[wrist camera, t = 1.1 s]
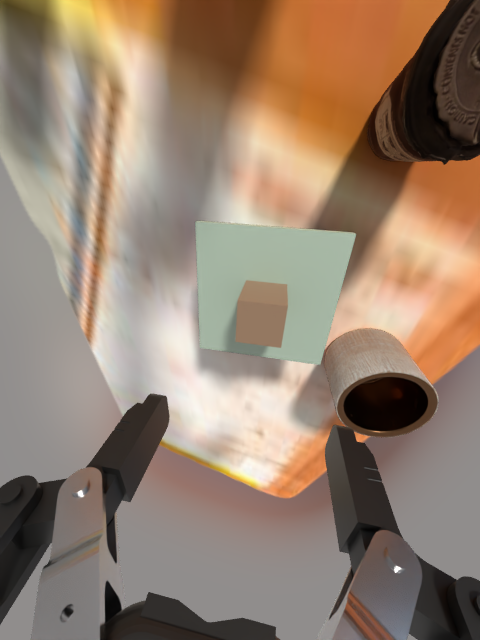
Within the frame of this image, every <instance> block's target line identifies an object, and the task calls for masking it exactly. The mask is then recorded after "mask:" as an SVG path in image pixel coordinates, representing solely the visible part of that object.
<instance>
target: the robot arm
mask: <svg viewBox="0 0 480 640" xmlns="http://www.w3.org/2000/svg"><path fill="white" fill-rule="evenodd" d="M168 423H169V410H168V403H167V397H166V396H163V395H157V394H150V395H148V397H147V398H146V400H145V401H144V403H143V404H141V403H137V404H136V405H134V406H133V407H132V408H130V409H129V410H128V411H127V412H126V414H125V415H124V416H123V418H122V419H121V421H120V423H118V425H117V426H116V427H115V430H114V431H113V432H112V433H111V434H110V436H109V437H108V439H107V440H106V441H105V443H104V444H103V446H102V447H101V448H100V450H99V451H98V453H97V454H96V455H95V457H94V458H93V459H92V461H91V462H90V463H89V465H88V466H87V467H86V468H83V469H80V470H78V471H76V472H75V473H73V474H72V475H71V476H70V477H68V478H67V479H62V480H56V481H49V482H44V483H38V482H37V480H36V479H35V478H34V477H32V476H21V477H18V478H15V479H13V480H11V481H9V482H7V483H6V484H5V485H3V486H2V487H1V488H0V624H1V623H2V621H3V619H4V618H5V616H6V615H7V613H8V611H9V609H10V608H11V606H12V605H13V603H14V602H15V600H16V598H17V597H18V595H19V594H20V592H21V590H22V589H23V587H24V585H25V584H26V582H27V580H28V579H29V577H30V576H31V574H32V572H33V571H34V569H35V567H36V566H37V564H38V563H39V561H40V559H41V558H42V556H43V555H44V553H45V551H46V550H47V548H48V547H49V545H50V543H52V548H51V556H50V560H49V562H48V564H47V565H46V566H44V568H43V570H42V572H41V576H40V579H39V585H38V592H37V599H36V606H35V613H34V620H33V627H32V634H31V640H280V639H279V638H277V637H276V636H275V634H276V627H274V626H270V625H267V624H263V623H260V622H256V621H252V620H249V619H245V618H239V619H232V620H225V621H218V622H211V623H210V622H206V621H204V620H203V619H202V618H200V617H199V616H198V615H197V614H195V613H194V612H193V611H191V610H190V609H189V608H188V607H186V606H185V605H184V604H182V603H181V602H180V601H179V600H176V599H172V598H168V597H165V596H161V595H157V594H154V593H150V592H149V593H148V595H147V598H146V601H141V602H138V603H135V604H133V605H131V606H129V607H127V608H125V596H124V585H123V579H122V574H121V569H120V559H119V544H118V529H117V528H118V527H117V513H116V510H117V508H118V506H119V504H120V503H121V501H122V500H123V501H128V502H131V500H132V498H133V496H134V494H135V492H136V490H137V488H138V486H139V484H140V482H141V480H142V478H143V476H144V474H145V472H146V470H147V467H148V466H149V464H150V461H151V459H152V458H153V455H154V453H155V451H156V449H157V447H158V445H159V443H160V441H161V439H162V437H163V435H164V433H165V431H166V429H167V427H168ZM325 460H326V467H327V473H328V479H329V486H330V492H331V499H332V505H333V512H334V518H335V525H336V531H337V537H338V543H339V550H340V552H345V553H349V555H350V560H351V568H350V570H349V572H348V574H347V576H346V578H345V580H344V583H343V585H342V587H341V589H340V591H339V593H338V596H337V598H336V600H335V602H334V604H333V607H332V609H331V611H330V613H329V615H328V617H327V619H326V622H325V623H324V625H323V627H322V629H321V630H320V632H319V634H318V636H317V638H316V640H407V638H408V634H411V635H412V636H413V637H415V638H416V639H418V640H480V581H479V580H477V579H474V578H472V577H461V578H459V579H458V580H456V579H454V578H453V577H451V576H449V575H447V574H446V573H444V572H442V571H441V570H439V569H437V568H435V567H434V566H432V565H430V564H428V563H427V562H425V561H424V560H423V559H421V558H420V557H419V556H418V555H417V554H416V553H414V551H413V550H412V548H411V547H410V546H409V545H408V543H407V542H406V541H405V540H404V539H403V537H402V535H401V533H400V531H399V529H398V526H397V523H396V521H395V518H394V515H393V512H392V509H391V506H390V503H389V500H388V497H387V494H386V491H385V488H384V485H383V483H382V479H381V477H380V474H379V472H378V468H377V465H376V462H375V459H374V456H373V454H372V453H371V452H370V450H369V449H368V447H367V446H366V445H365V443H361V442H357V441H356V437H355V434H354V431H353V429H352V428H350V427H344V426H338V425H333V427H332V430H331V433H330V435H329V438H328V441H327V444H326V448H325Z"/></svg>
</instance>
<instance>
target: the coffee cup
mask: <svg viewBox="0 0 480 640" xmlns="http://www.w3.org/2000/svg"><path fill="white" fill-rule="evenodd" d="M367 133H368V141H369V144H370V146H371V148H372V150H373V152H374V153H375V154H376V155H377V156H378V157H380V158H382V159H385V160H389V161H404V162H414V161H416V162H420V161H441V162H443V164H444V165H445V164H446V163H447V162H448V161H449V160H455V161H461V160H471V159H473V158H475V157H476V156H478V155H480V0H450V1H449V3H448V5H447V6H446V8H445V10H444V11H443V12H442V13H441V15H440V16H439V17H438V18H437V20H436V21H435V22H434V24H433V25H432V26H431V28H430V30H429V31H428V33H427V34H426V36H425V37H424V39H423V41H422V43H421V45H420V47H419V49H418V50H417V52H416V53H415V55H414V56H413V58H411V59H410V61H409V62H408V63H407V64H406V65H405V67H404V68H403V70H402V71H401V73H400V74H399V75H398V76H397V77H396V78H395V80H394V81H393V82H392V83H391V85H390V86H389V87H388V88H387V90H386V91H385V92H384V94H383V95H382V97H381V99H380V101H379V102H378V103H377V104H376V106H375V107H374V109H373V111H372V113H371V116H370V120H369V125H368V132H367Z"/></svg>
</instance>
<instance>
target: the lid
mask: <svg viewBox="0 0 480 640" xmlns="http://www.w3.org/2000/svg"><path fill="white" fill-rule="evenodd" d="M195 229H196V256H197V282H198V309H199V336H200V348H204V349H211V350H218V351H225V352H232V353H239V354H246V355H253V356H260V357H267V358H274V359H282V360H289V361H296V362H303V363H310V364H317V365H320V364H321V361H322V357H323V353H324V350H325V346H326V342H327V339H328V335H329V332H330V328H331V324H332V321H333V317H334V313H335V310H336V306H337V303H338V299H339V295H340V292H341V288H342V284H343V281H344V277H345V274H346V270H347V266H348V263H349V259H350V255H351V252H352V248H353V244H354V241H355V237H356V234H355V233H354V232H342V231H329V230H315V229H302V228H289V227H276V226H263V225H250V224H237V223H223V222H210V221H196V222H195Z"/></svg>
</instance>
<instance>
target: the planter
mask: <svg viewBox="0 0 480 640" xmlns="http://www.w3.org/2000/svg"><path fill="white" fill-rule="evenodd" d="M324 363H325V370H326V374H327V378H328V381H329V385H330V389H331V393H332V396H333V401H334V405H335V409H336V412H337V415H338V417H339V419H340V421H341V422H342V423H343V424H344V425H345V426H346V427H350V428H352V429H353V431H354V432H357V433H359V434H362V435H366V436H371V437H395V436H400V435H404V434H407V433H410V432H413V431H415V430H417V429H419V428H420V427H422V426H424V425H425V424H426V423H428V422H429V421H430V420H431V419H432V417H433V416H434V415H435V413H436V411H437V408H438V403H439V400H438V395H437V392H436V390H435V389H434V387H433V386H432V384H431V383H430V382H429V380H428V379H427V378H426V376H425V375H424V374H423V372H422V371H421V370H420V368H419V367H418V366H417V364H416V363H415V362H414V360H413V359H412V358H411V356H410V355H409V353H408V352H407V351H406V349H405V348H404V347H403V345H402V344H401V343H400V342H399V341H398V340H397V339H396V338H395V337H394V336H393V335H391V334H389V333H387V332H385V331H382V330H378V329H370V328H366V329H357V330H353V331H350V332H348V333H345V334H343V335H341V336H340V337H338V338H337V339H336V340H335V341H334V342H333V343H332V344H331V345H330V346H329V348H328V349H327V351H326V354H325V360H324Z"/></svg>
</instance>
